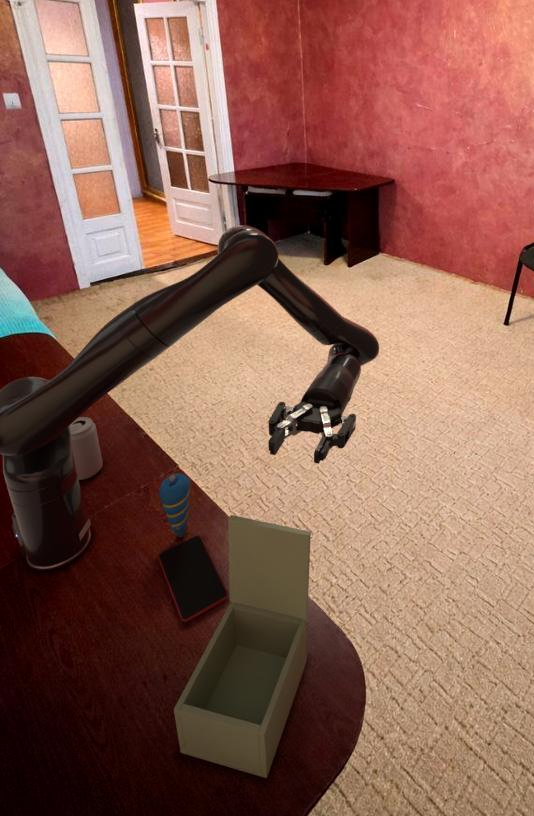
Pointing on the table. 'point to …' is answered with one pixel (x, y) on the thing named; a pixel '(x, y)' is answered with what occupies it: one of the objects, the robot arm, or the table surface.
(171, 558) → the smartphone
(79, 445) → the beverage can
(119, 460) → the table surface
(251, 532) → the lid
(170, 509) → the ornament
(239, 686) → the chest
